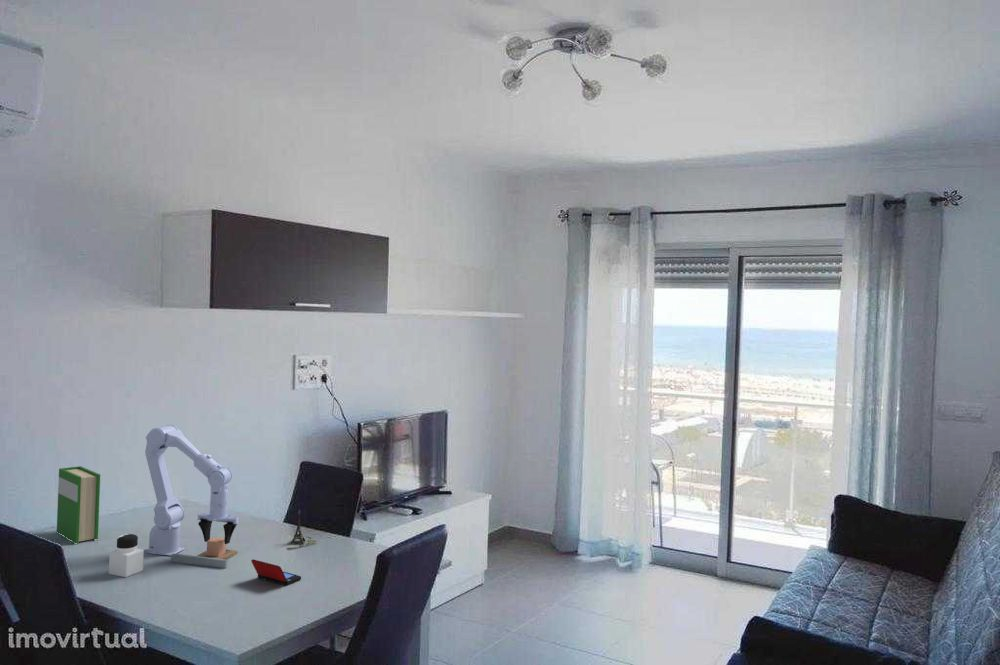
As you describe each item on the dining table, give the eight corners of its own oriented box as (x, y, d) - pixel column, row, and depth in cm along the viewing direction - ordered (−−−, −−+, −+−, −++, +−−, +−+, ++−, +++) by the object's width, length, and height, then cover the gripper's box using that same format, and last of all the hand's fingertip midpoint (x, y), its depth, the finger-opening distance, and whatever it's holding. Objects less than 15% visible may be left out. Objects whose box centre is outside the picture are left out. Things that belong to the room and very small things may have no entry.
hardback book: (97, 540, 270) (100, 474, 270) (75, 544, 264) (78, 477, 264) (78, 529, 281) (80, 466, 281) (56, 533, 276) (59, 468, 275)
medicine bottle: (143, 571, 242) (144, 534, 242) (125, 577, 236) (127, 540, 235) (126, 567, 245) (127, 531, 244) (108, 574, 238) (109, 536, 238)
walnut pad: (195, 559, 255) (195, 556, 255) (211, 550, 265) (211, 547, 265) (221, 562, 254) (222, 559, 254) (237, 553, 264) (237, 550, 263)
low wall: (171, 561, 252) (171, 554, 252) (173, 560, 253) (173, 553, 253) (225, 568, 249) (225, 560, 248) (227, 567, 250) (227, 559, 249)
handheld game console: (302, 580, 242) (303, 557, 242) (278, 590, 233) (279, 566, 232) (273, 572, 248) (274, 549, 248) (249, 581, 238) (250, 558, 238)
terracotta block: (206, 555, 257) (207, 540, 257) (213, 551, 262) (214, 537, 262) (218, 556, 256) (219, 542, 256) (225, 552, 261) (226, 538, 261)
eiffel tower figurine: (289, 551, 270) (290, 515, 269) (272, 545, 276) (274, 509, 276) (323, 543, 281) (324, 508, 281) (306, 537, 288) (308, 503, 287)
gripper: (193, 504, 256) (191, 543, 257) (231, 508, 254) (230, 547, 254) (204, 499, 263) (203, 537, 264) (242, 503, 261) (240, 541, 261)
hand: (217, 542), depth 259 cm, fingers open, 7 cm apart
